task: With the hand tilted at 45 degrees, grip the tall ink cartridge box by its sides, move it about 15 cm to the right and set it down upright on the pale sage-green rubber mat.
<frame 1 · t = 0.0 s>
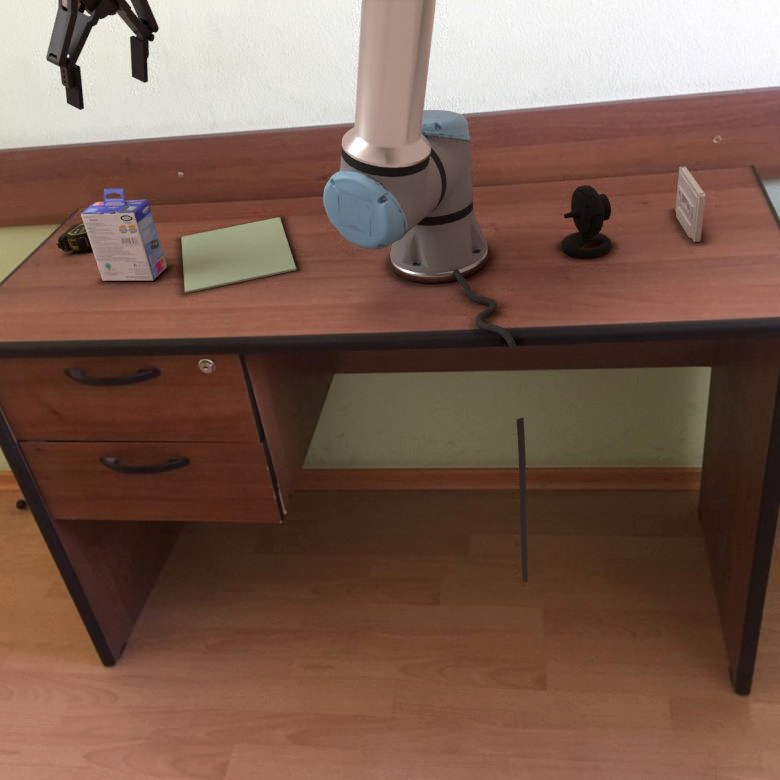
hand: (108, 92, 130), 28 cm above the table, tool tilted 20°, fingers open, 13 cm apart
cassette: (687, 227, 131), on the table
ink cartridge box: (136, 275, 140), on the table
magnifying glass: (358, 211, 151), on the table
webcam: (586, 249, 129), on the table
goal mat: (236, 253, 142), on the table
tape measure: (82, 248, 152), on the table
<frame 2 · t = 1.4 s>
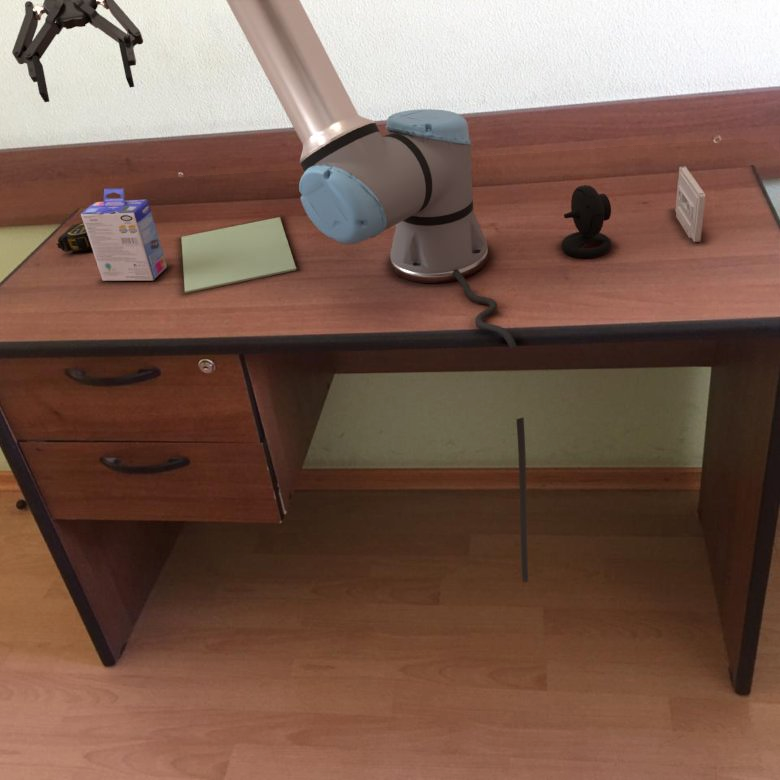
hand: (87, 90, 134), 28 cm above the table, tool tilted 45°, fingers open, 13 cm apart
nothing on the table moved.
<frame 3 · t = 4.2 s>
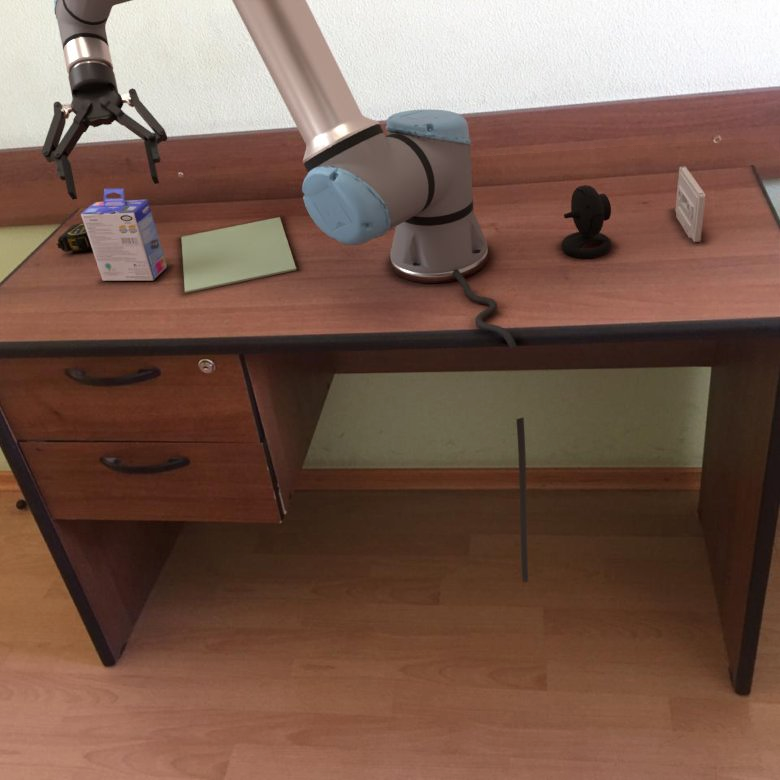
hand: (114, 188, 138), 13 cm above the table, tool tilted 45°, fingers open, 13 cm apart
nothing on the table moved.
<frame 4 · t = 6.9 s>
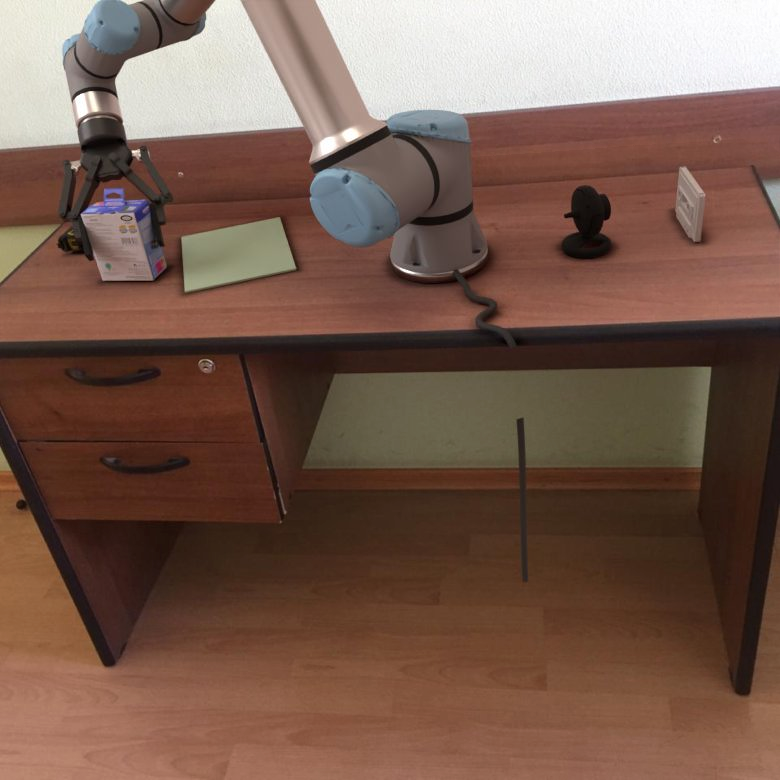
hand: (125, 250, 134), 6 cm above the table, tool tilted 45°, fingers closed on ink cartridge box, 11 cm apart
ink cartridge box: (136, 275, 140), on the table, touching gripper
everything else where it was.
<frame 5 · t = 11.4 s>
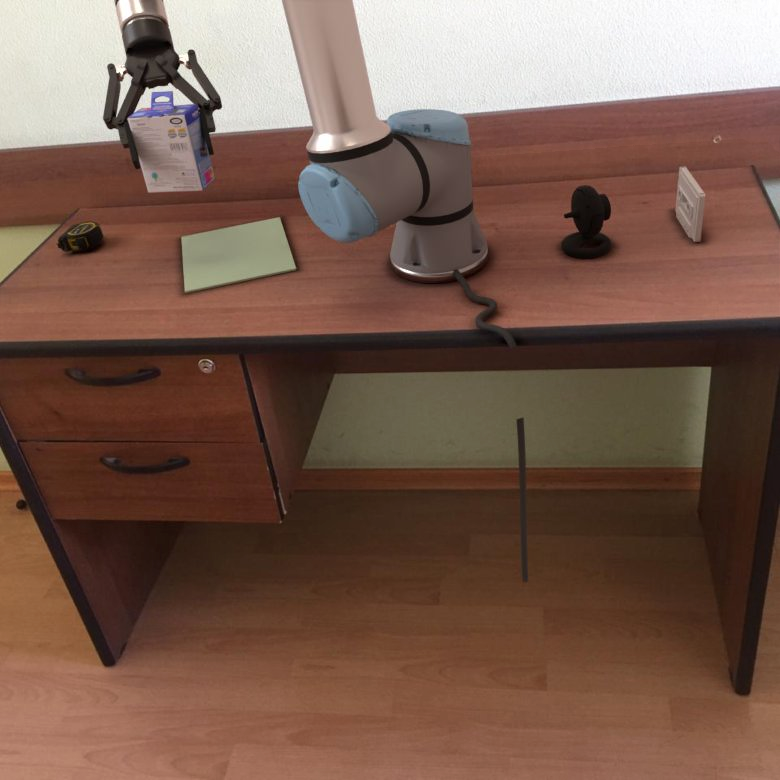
hand: (173, 157, 128), 19 cm above the table, tool tilted 45°, fingers closed on ink cartridge box, 11 cm apart
ink cartridge box: (183, 187, 134), point 13 cm above the table, touching gripper
everything else where it was.
when the fingers open (6 cm above the table, at t = 16.0 s): ink cartridge box stays where it is, resting on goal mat.
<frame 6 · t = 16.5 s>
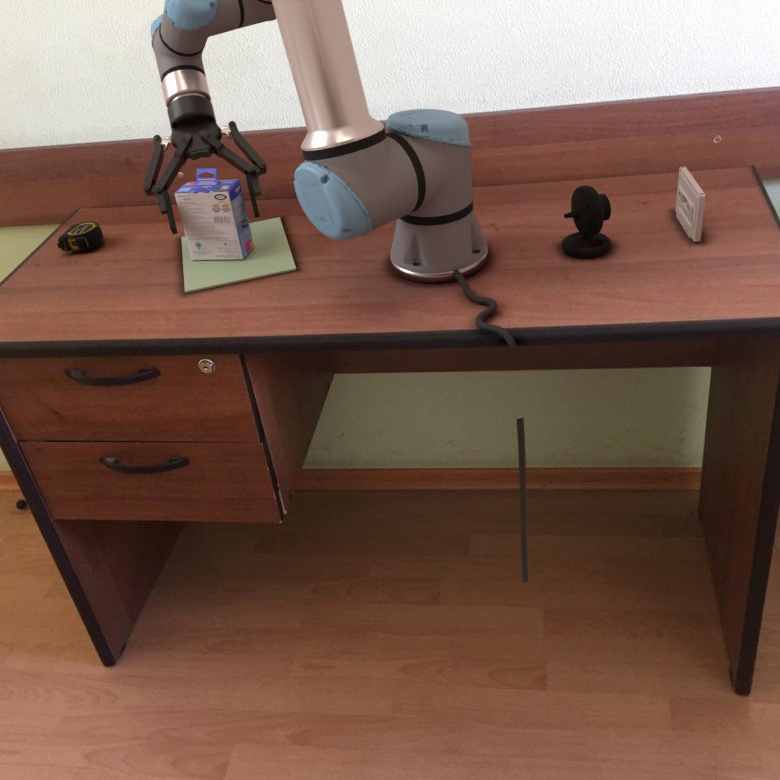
hand: (215, 222, 136), 7 cm above the table, tool tilted 45°, fingers open, 13 cm apart
ink cartridge box: (224, 254, 142), resting on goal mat
everything else where it was.
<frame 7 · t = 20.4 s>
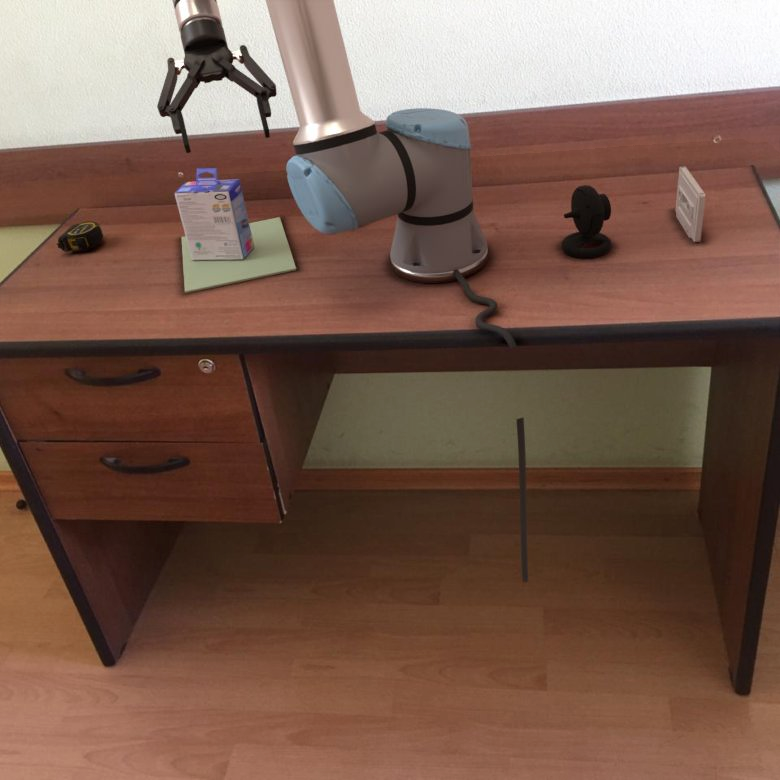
hand: (227, 141, 141), 16 cm above the table, tool tilted 45°, fingers open, 13 cm apart
nothing on the table moved.
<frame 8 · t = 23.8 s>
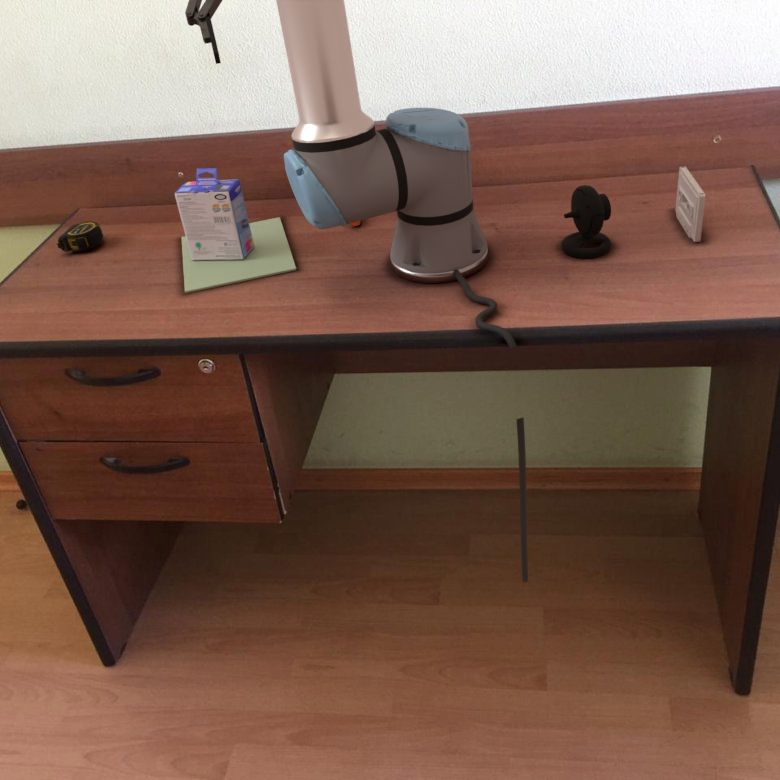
hand: (259, 51, 133), 30 cm above the table, tool tilted 45°, fingers open, 13 cm apart
nothing on the table moved.
at the end: ink cartridge box inside the target area on the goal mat (0.5 cm from its centre), point 0.2 cm above the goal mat's base; ink cartridge box tilted 0°; ink cartridge box moved 15.0 cm from its start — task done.
